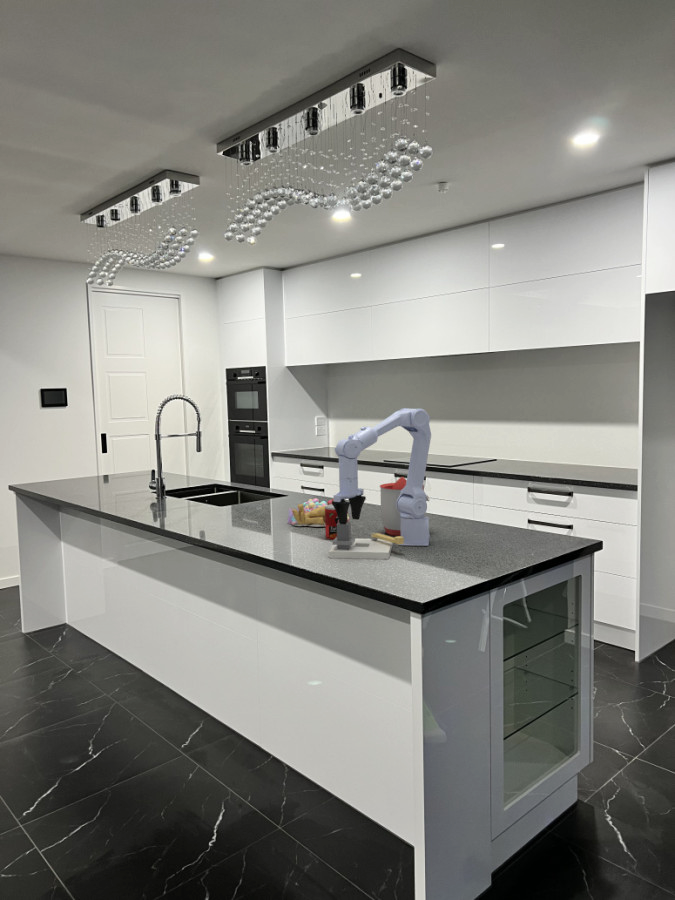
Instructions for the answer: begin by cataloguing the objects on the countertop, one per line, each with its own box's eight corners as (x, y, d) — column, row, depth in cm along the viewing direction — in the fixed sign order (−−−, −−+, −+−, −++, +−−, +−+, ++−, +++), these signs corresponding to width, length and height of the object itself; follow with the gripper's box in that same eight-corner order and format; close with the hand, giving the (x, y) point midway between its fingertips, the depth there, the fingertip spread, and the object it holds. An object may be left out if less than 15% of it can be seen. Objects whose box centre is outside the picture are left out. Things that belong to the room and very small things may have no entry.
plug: (355, 546, 209) (354, 521, 208) (352, 550, 203) (351, 525, 202) (336, 545, 210) (335, 521, 209) (332, 550, 204) (332, 525, 203)
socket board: (392, 545, 217) (392, 539, 217) (388, 559, 200) (388, 552, 200) (337, 544, 220) (337, 538, 220) (328, 557, 203) (328, 551, 202)
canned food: (328, 540, 226) (328, 508, 225) (323, 536, 233) (322, 504, 232) (350, 539, 228) (350, 507, 227) (344, 534, 235) (343, 503, 234)
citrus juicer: (428, 539, 225) (428, 480, 224) (377, 537, 229) (376, 479, 227) (431, 529, 241) (431, 474, 239) (383, 528, 244) (382, 473, 242)
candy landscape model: (349, 528, 246) (349, 503, 245) (285, 529, 247) (284, 505, 246) (349, 515, 271) (349, 493, 270) (291, 516, 272) (290, 494, 271)
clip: (375, 538, 218) (374, 529, 217) (403, 547, 205) (403, 537, 205) (369, 539, 216) (369, 529, 216) (398, 548, 204) (398, 538, 204)
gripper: (347, 481, 199) (348, 526, 200) (371, 475, 211) (372, 518, 212) (327, 480, 203) (328, 524, 204) (352, 474, 215) (353, 516, 216)
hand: (349, 521), depth 208 cm, fingers open, 7 cm apart
